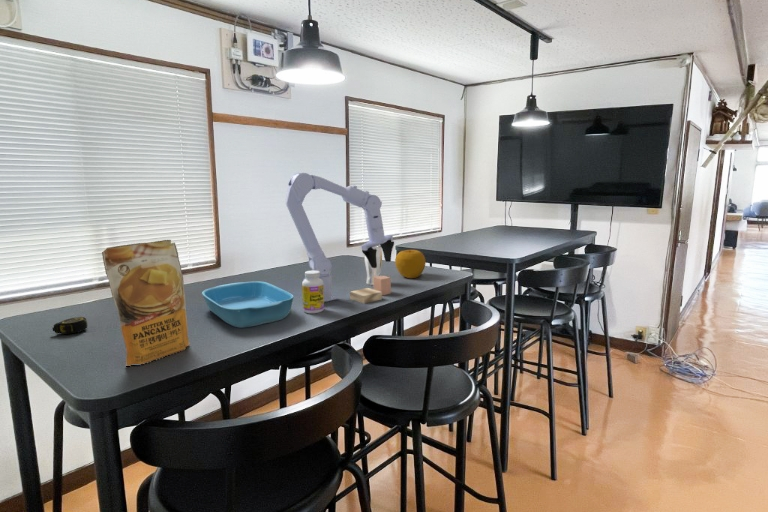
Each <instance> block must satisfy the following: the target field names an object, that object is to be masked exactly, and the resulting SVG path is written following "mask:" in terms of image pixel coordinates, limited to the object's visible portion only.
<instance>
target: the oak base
mask: <svg viewBox="0 0 768 512" xmlns="http://www.w3.org/2000/svg"><path fill="white" fill-rule="evenodd" d="M349 299H350V300H352V301H355V302H359V303H361V304H368V303H371V302H376V301H379V300H380V301H381V300H383V295H382V292H380V291H377V290H374V288H369V287H365V288H360V289H357V290H356V289H355V290H352V291H349Z"/></svg>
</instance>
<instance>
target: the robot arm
mask: <svg viewBox="0 0 768 512" xmlns="http://www.w3.org/2000/svg"><path fill="white" fill-rule="evenodd" d="M312 190H324V191H325V192H326V191H327V192H329V193H332V194H334V195H338V196H341V198H342V200H343V202H345V203H348V204H351V205H353V206H355V207H358V208H362V210H363V212H364V217H365V218H364V219H365V224H366V230H367V236H368V241H367V242H365V243H363V244H361V251H362V254H363V255H365V256H366V257H367V259H368V261H369V263H370V265H371V267H372V268H377V262H376V252H377V250H376V249H372V247H375V246H378V245H379V246H381V249H382V254H383V256H384V260H385V262H388V263H389V262H391V261H392V254H393V253H392V252H393V249H394V245H395V241H394V238H393V234H387V235H385V230H384V224H383V218H382V213H381V209H382V208H381V207H382V204H383V201H381V199H380V198H379V196H378V195H375V194H370V191H369V190H366V191H365V190H362V189H359V188H358V186H356V185H355V184H353V185H348V186H345V187H344V186H342V185H339V184H338V183H335V182H333V181H331V180H328V179H326V178H324V177H321V176H318V175H314V174H309V173H307V172H298V173H294V174H293V175H292V176H291V178H290V180H289V181H288V183H287V192H286V198H285V205H286V208H287V210H288V212H289V215H290V217H291V219H292V221H293V223H294V226H295V228H296V230H297V233H298V235H299V237H300V239H301V241H302V243H303V246H304V248H305V250H306V255H307V257H308V267H309V268H310V269H311V270H310V271H313V270H315V271H320V276H319V279H321V280H322V281H323V292H324V303H325V302H329V301H330V302H331V301H334V300H338V298H337V297H336V296H334V295H333V296H332V273H331V271H332V269H333V265H332V264H333V263H332V262H331V260H330V259H329V258H328V257H327V256H326V255H325V253H324V251H323V249H322V248H321V246H320V243H319V241H318V239H317V237H316V235H315V232H314V229H313V227H312V225H311V222H310V220H309V218H308V215H307V213H306V211H305V208H304V206H303V202H304V200H305V198H306V196H307V195H308V194H309V193H310V192H311V191H312ZM305 279H306V277H304V278H303V280H302V282H303V281H304V280H305ZM302 301H303V297H302Z"/></svg>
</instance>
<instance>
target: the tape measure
mask: <svg viewBox="0 0 768 512" xmlns="http://www.w3.org/2000/svg"><path fill="white" fill-rule="evenodd" d="M51 329H52V331H53V332H54V333H55V334H64V335H69V334H75V333H76V332H78V333H81V332H83V331H84V330H86V329H88V321H87V318H86V317H85V316H84V317H83V316H78V317H71V318H68V319H64V320H62V321H59V322H56V323H54V324H53V327H52V328H51ZM76 334H77V333H76Z"/></svg>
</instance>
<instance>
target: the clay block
mask: <svg viewBox="0 0 768 512" xmlns="http://www.w3.org/2000/svg"><path fill="white" fill-rule="evenodd" d="M372 286H373V289H374V290H377V291H380V292H382V296H386V295H390V294H392V279H391V277H390V276H386V275H380V276H378V277H373V285H372Z"/></svg>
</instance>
